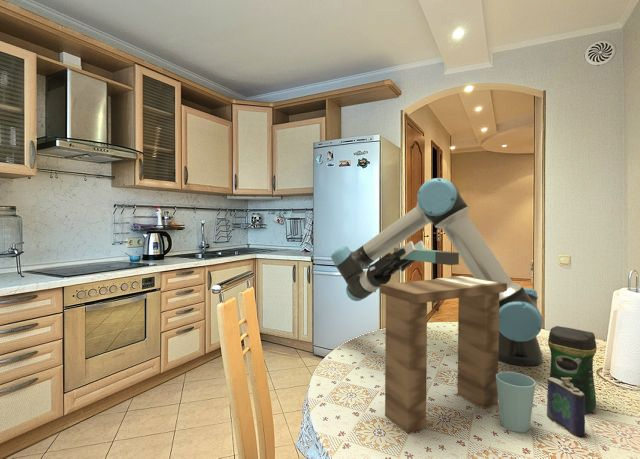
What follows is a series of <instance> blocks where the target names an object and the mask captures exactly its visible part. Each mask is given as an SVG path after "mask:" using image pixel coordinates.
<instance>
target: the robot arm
mask: <svg viewBox="0 0 640 459" xmlns="http://www.w3.org/2000/svg"><path fill="white" fill-rule="evenodd" d="M416 196H417V197H416V199H417V202H416V205H415V207H413V208H412V209H410V210H409V211H408V212H407V213H405V214H404V215H403V216H401V217H400V218H398V219H397V220H396V221H394V222H393V223H392V224H390V225H389V226H387V227H386V228H384V229H383V230H382V231H381V232H378V234H376V235H375V236H374V237H372V238H371V239H369V240H368V241H366V243H364V244H363V245H361V246H360V247H359V248H357V249H356V250H354V251H352V250H351V249H350V248H349V247H348V246H347V245H345V246H341V247H339V248H338V249H336V250H334V252H333V253H332V254H331V256H330V258H331V261H332V262H333V264H334V266H335V267H336V269H337V270H338V272H339V274H340V275H341V276H342V278H343V279H344V281H345V283H346V285H347V286H346V289H345V290H346V291H345V292H346V295H347V297H348V298H349V299H350V300H351V301H354V302H360V301H362V300H365V299H366V298H367V297H369V296H370V295H372V294H373V293H376V292H377V290H379V289H381V284H389V282H390V281H391V278H392V275H394V274H395V273H396V272H397V271H399V270H400V271H401V272H405V270H406V269H407V268H408V267H409V266H411V265H412V264H413V263H415V262H416V261H415V260H408V259H404V258H405V257H406V256H408V255H409V254H410V253H412V252H413V251H414V250H416V249H424V250H426V246H425V244H424V242H423V240H420V241H418V242H416V243H415V244H414V242H413V240H409V241H408V242H407V243H406V244H404V246H401V247H402V248H401V247H400V248H401V249H400V250H398V251H397V252H394V251H393V252H392V253H391V252H389V251H391V250H392V249H394V248H396V247H397V246H399V245H400V244H402V243H403V242H404V241H405V240H407V239H408V238H410V237H412V236H413V235H414V234H416V233H417V232H418V231H420V230H421V229H423V228H424V227H426V226H427V225H429V224H432V225H433V226H434V227H435V229H441V230H442V231H443V233H445V236H446V237H447V239H448V240H449V242H450V243H451V245H452V246H453V248H454V249H455V251H456V252H457V253H459V258H460V259H461V260H462V261H463V263H464V264H465V266H466V268H467V269H468V271H469V273H470V274H471V275H472V277H473V278H479V279H485V280H490V281H496V282H502V283H507V292H501V293H499V359H498V361H500V362H503V363H506V364H510V365H515V366H525V367H528V366H529V367H530V366H531V367H532V366H533V367H534V366H537V365H541V364H542V363H543V353H542V350H541V346H540V343H539V341H538V338H537V336H538V335H539V334H540V332H541V330H542V328H543V316H542V313H541V312H540V310H539V308H538V299H539V296H538V292H537V290H536V289H533V288H529V287H527V288H526V287H523V285H522V284H518V283H515V282H513V280H512V279H511V277H510V276H509V274H508V273H507V271H506V270H505V269H504V267H503V266H502V264H501V263H500V261H499V260H498V258H497V256H496V255H495V254H494V252H493V251H492V249H491V248H490V246H489V245H488V243H487V242H486V240H485V239H484V238H483V235H482V234H481V233H480V232H479V230H478V228H477V227H476V226H475V224H474V223H473V221H472V220H471V218H470V217H469V215H468V212H469V206H468V204H467V203H466V202H465V200H464V198H463V197H462V196H461V192H460V190H459V189H458V188H457V186H456V185H455V184H453V183H452V181H450V180H448V179H446V178H443V177H436V178H435V177H434V178H431V179H428V180H427V181H425V182H423V184H422V185H421V186H420V187H419V189H418V192H417V195H416ZM386 253H387V254H386Z"/></svg>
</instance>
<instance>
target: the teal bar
mask: <svg viewBox="0 0 640 459" xmlns="http://www.w3.org/2000/svg"><path fill="white" fill-rule="evenodd" d="M402 247H403V246H401V247H394V248H393V253H394V252H397V251H398V250H400V249H401V248H402ZM404 259H408V260H415V262H423V263H432V264H438V265H445V266H446V265H447V266H455V265H460V264H459V263H460V262H459V260H460V256H459V253H458V252H457V251H456V252H455V251H446V250H445V251H444V250H433V249H425V250H424V249H416V250H414V251H413V252H412V253H410V254H409V255H408V256H406V257H405V258H404Z"/></svg>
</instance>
